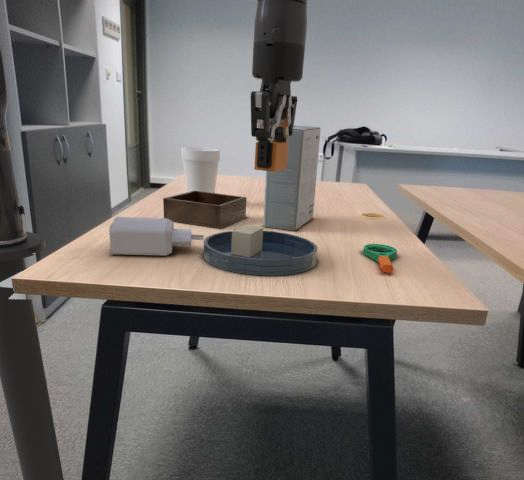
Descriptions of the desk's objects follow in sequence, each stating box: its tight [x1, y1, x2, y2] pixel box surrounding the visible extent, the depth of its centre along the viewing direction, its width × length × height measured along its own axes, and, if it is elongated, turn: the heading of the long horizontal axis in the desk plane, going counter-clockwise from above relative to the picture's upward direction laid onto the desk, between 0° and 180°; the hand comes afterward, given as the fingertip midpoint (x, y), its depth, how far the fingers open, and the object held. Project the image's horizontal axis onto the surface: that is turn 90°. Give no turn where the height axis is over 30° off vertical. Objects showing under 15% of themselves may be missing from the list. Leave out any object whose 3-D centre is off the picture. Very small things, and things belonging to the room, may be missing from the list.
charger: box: [108, 216, 205, 257], centre depth 81 cm, size 5×9×15 cm
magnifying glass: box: [362, 243, 398, 273], centre depth 83 cm, size 15×6×2 cm, turn 173°
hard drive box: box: [262, 124, 321, 232], centre depth 103 cm, size 16×8×20 cm, turn 161°
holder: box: [162, 191, 248, 229], centre depth 105 cm, size 14×14×5 cm
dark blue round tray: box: [203, 230, 318, 277], centre depth 81 cm, size 19×19×2 cm
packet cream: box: [231, 224, 264, 257], centre depth 81 cm, size 4×6×4 cm, turn 158°
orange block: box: [254, 141, 289, 172], centre depth 75 cm, size 4×6×4 cm, turn 158°
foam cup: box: [180, 146, 221, 193], centre depth 120 cm, size 10×9×13 cm
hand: (270, 165), depth 76 cm, fingers closed on orange block, 5 cm apart
